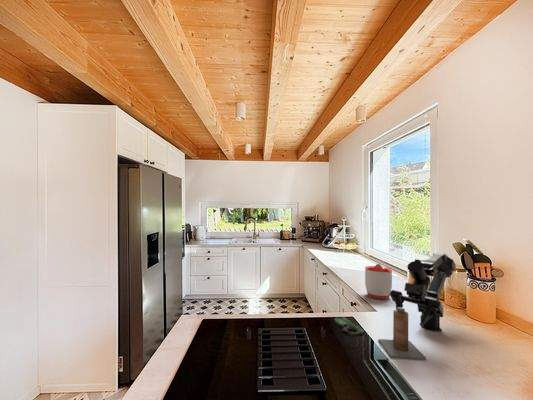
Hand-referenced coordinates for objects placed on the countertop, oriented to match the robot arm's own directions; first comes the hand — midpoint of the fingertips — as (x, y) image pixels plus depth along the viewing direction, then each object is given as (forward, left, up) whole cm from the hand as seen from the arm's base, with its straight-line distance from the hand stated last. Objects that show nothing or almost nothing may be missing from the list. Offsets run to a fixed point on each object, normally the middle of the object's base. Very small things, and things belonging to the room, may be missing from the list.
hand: (409, 320), depth 103 cm
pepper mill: (+6, +5, -8) cm, 11 cm away
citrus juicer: (-9, -58, -9) cm, 60 cm away
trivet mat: (+6, +6, -9) cm, 12 cm away
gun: (+21, -12, -10) cm, 26 cm away
